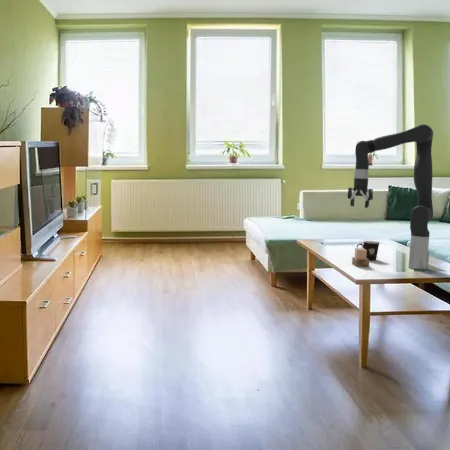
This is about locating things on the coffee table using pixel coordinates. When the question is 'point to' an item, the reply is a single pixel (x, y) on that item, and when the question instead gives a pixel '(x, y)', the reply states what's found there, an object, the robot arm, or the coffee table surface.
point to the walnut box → (360, 262)
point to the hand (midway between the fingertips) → (359, 207)
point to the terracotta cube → (360, 253)
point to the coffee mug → (370, 249)
